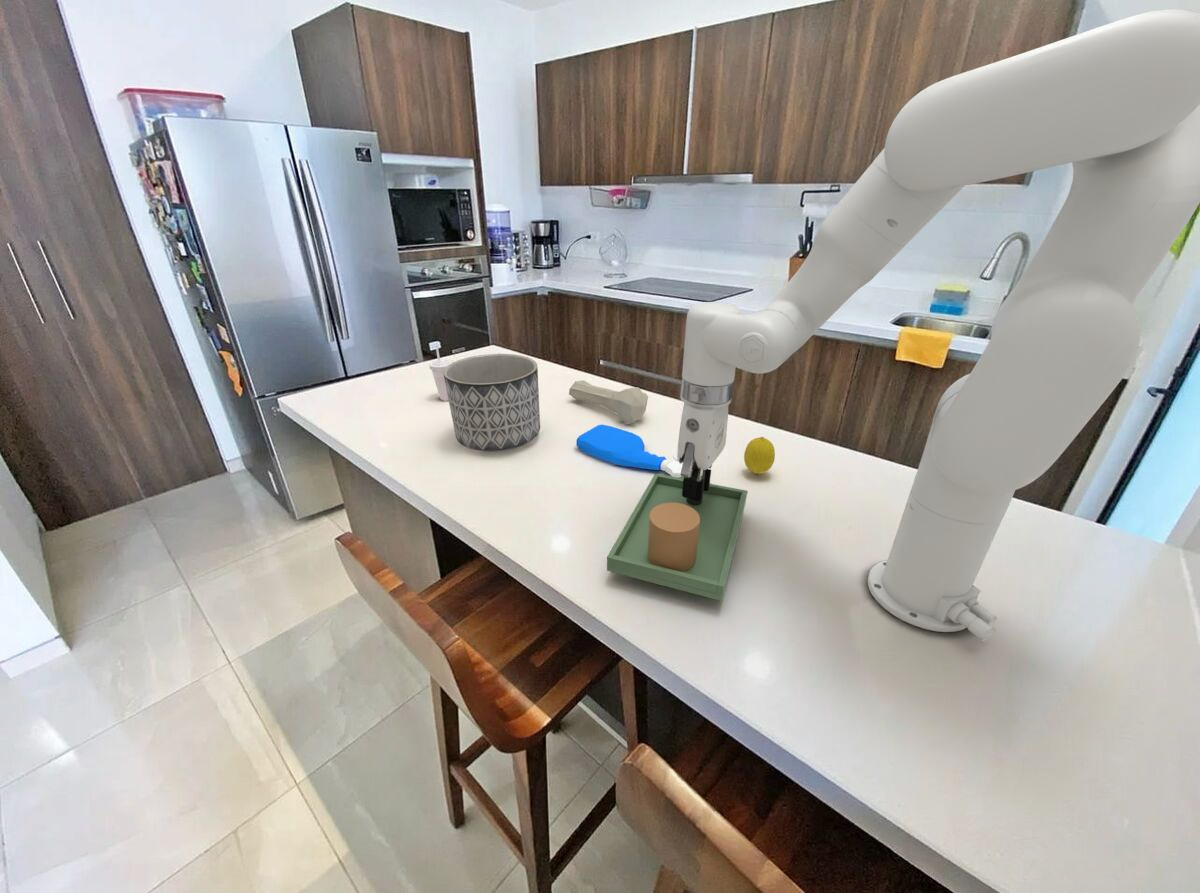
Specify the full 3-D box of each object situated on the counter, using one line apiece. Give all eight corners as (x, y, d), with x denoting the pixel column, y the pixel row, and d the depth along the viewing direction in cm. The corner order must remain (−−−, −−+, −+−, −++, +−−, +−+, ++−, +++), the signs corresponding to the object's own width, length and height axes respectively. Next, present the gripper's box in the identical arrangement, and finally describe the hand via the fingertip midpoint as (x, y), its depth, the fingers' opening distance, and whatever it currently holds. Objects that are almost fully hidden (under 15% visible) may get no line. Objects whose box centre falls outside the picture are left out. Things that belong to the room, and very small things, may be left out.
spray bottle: (571, 438, 104) (674, 476, 91) (603, 420, 112) (701, 453, 98) (572, 451, 105) (672, 490, 92) (603, 432, 113) (700, 466, 100)
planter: (438, 453, 105) (424, 380, 97) (479, 416, 122) (470, 351, 114) (523, 463, 101) (516, 387, 93) (553, 423, 117) (549, 356, 110)
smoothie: (434, 395, 135) (425, 344, 128) (459, 392, 136) (451, 342, 130) (435, 403, 129) (425, 351, 123) (460, 400, 131) (452, 348, 124)
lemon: (772, 482, 93) (779, 445, 90) (742, 480, 94) (747, 442, 91) (770, 468, 98) (776, 431, 94) (741, 465, 99) (746, 429, 95)
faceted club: (629, 428, 112) (556, 404, 129) (652, 426, 119) (580, 403, 135) (635, 390, 110) (561, 370, 126) (658, 390, 116) (584, 371, 133)
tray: (721, 601, 64) (728, 552, 61) (606, 570, 70) (606, 524, 66) (745, 503, 84) (751, 461, 80) (654, 485, 89) (656, 445, 86)
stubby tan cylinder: (689, 578, 67) (693, 536, 64) (641, 566, 69) (643, 525, 66) (700, 547, 72) (704, 508, 69) (655, 537, 75) (657, 498, 71)
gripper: (712, 414, 66) (699, 526, 74) (747, 377, 78) (732, 477, 87) (660, 403, 69) (654, 511, 78) (701, 369, 81) (691, 466, 90)
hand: (695, 492), depth 82 cm, fingers closed on tray, 2 cm apart
